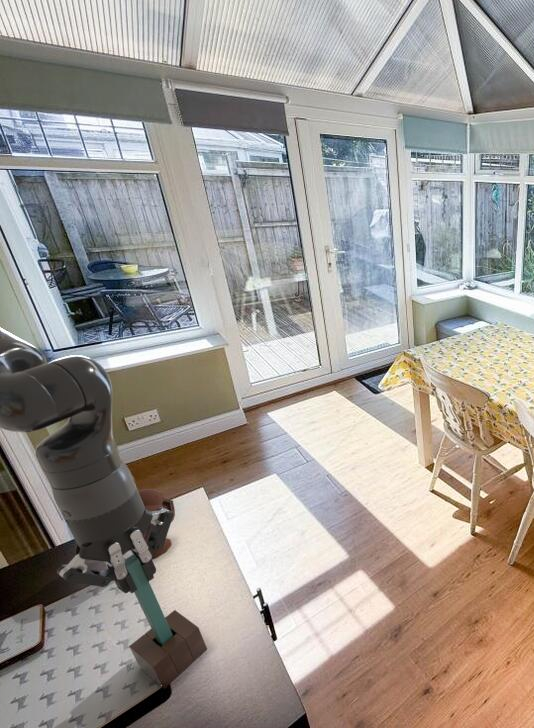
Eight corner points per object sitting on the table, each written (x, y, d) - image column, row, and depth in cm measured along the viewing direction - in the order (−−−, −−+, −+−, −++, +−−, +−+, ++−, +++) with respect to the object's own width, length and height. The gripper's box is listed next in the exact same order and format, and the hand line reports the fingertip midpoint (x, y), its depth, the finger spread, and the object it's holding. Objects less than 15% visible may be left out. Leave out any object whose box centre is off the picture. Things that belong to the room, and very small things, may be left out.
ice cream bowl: (133, 538, 93) (109, 486, 87) (192, 523, 97) (174, 473, 91) (113, 578, 84) (86, 523, 78) (180, 560, 88) (158, 507, 82)
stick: (169, 658, 69) (125, 566, 60) (163, 654, 70) (119, 562, 61) (179, 649, 70) (138, 558, 62) (173, 645, 71) (132, 554, 62)
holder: (164, 689, 67) (152, 666, 64) (140, 668, 69) (128, 646, 67) (207, 649, 72) (198, 627, 70) (184, 631, 75) (174, 609, 72)
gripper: (142, 460, 63) (174, 541, 70) (16, 522, 52) (69, 612, 59) (171, 475, 61) (201, 558, 68) (44, 544, 49) (96, 636, 56)
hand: (139, 583), depth 63 cm, fingers closed on stick, 1 cm apart
